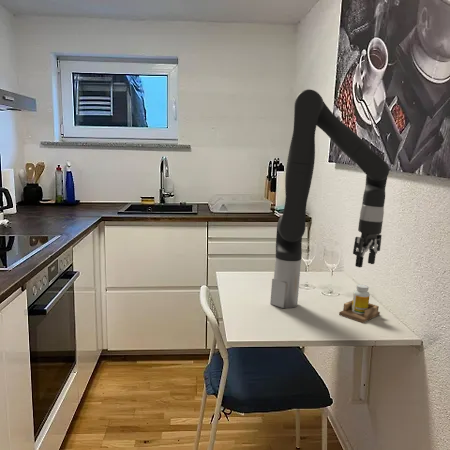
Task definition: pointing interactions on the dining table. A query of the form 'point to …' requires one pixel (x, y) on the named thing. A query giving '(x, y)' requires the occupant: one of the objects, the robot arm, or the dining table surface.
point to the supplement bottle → (360, 299)
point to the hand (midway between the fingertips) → (364, 265)
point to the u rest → (368, 314)
